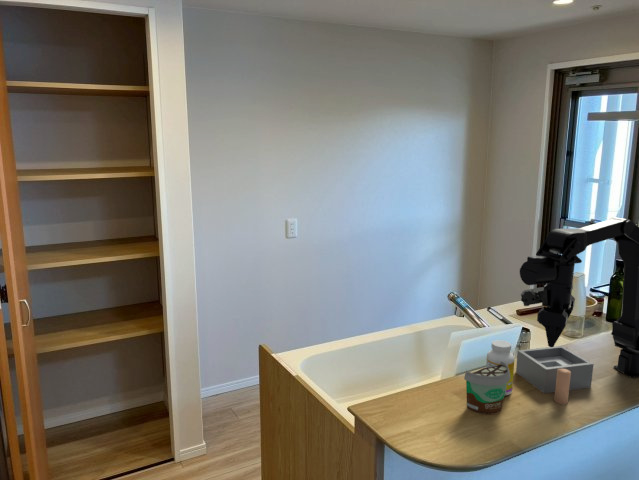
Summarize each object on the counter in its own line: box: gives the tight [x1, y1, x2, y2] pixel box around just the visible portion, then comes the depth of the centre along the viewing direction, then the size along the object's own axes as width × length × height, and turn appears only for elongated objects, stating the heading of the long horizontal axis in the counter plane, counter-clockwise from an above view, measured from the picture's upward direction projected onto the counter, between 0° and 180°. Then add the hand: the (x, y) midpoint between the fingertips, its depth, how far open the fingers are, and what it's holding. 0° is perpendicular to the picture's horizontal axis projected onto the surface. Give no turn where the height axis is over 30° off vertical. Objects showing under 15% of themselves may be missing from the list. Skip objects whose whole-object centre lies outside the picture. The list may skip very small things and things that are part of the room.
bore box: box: [515, 345, 594, 394], centre depth 138 cm, size 14×12×6 cm
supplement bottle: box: [485, 339, 515, 397], centre depth 131 cm, size 7×7×13 cm
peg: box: [553, 369, 571, 405], centre depth 126 cm, size 3×3×8 cm
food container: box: [464, 361, 510, 415], centre depth 122 cm, size 12×6×10 cm, turn 117°
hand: (553, 340), depth 130 cm, fingers open, 9 cm apart
